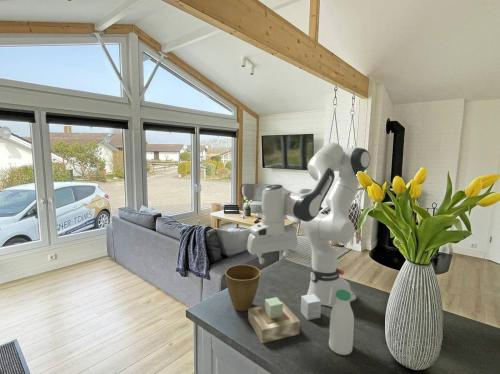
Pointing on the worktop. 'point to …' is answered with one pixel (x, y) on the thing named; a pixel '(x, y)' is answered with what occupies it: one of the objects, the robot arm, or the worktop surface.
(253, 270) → the plant pot
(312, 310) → the product box
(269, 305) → the sage block
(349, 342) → the milk bottle
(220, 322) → the worktop surface
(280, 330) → the birch plinth
